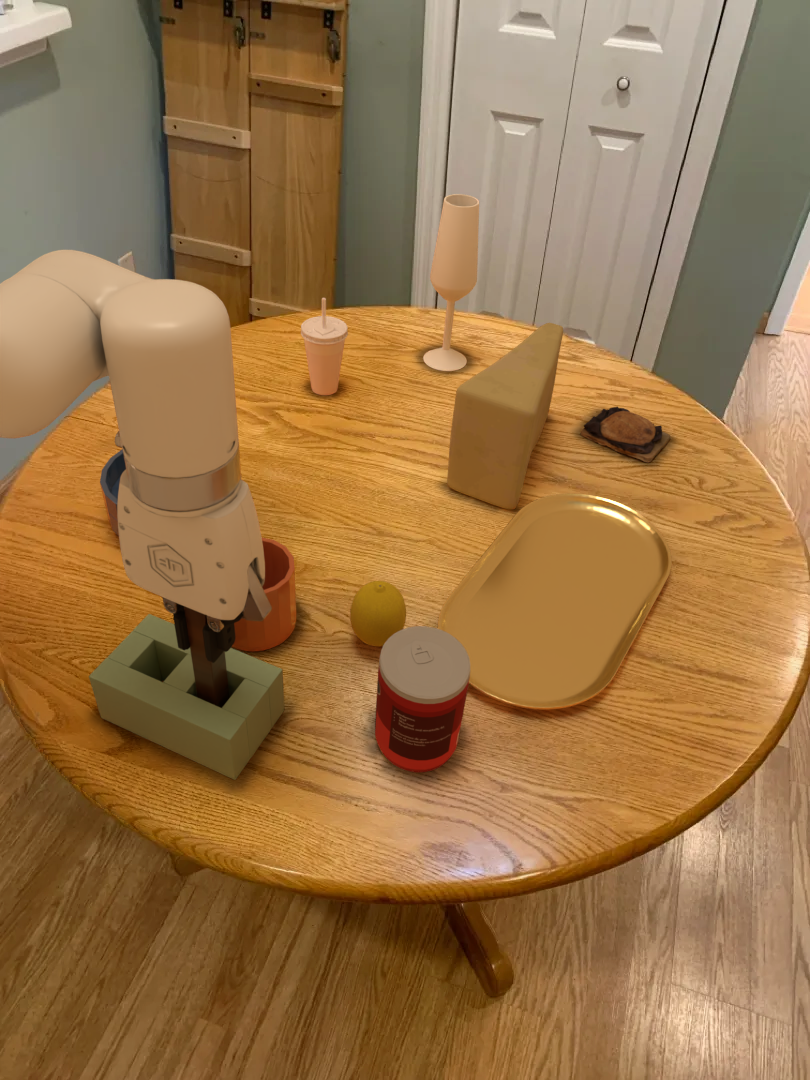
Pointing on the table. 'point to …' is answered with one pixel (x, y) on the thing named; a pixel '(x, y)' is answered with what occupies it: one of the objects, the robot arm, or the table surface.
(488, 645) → the serving platter
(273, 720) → the cinder block
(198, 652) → the stick
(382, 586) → the lemon
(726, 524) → the table surface
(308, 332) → the smoothie
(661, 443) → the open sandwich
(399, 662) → the canned food
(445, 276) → the champagne flute
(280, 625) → the crock
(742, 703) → the table surface
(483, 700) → the table surface
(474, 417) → the cheese
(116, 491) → the bowl
